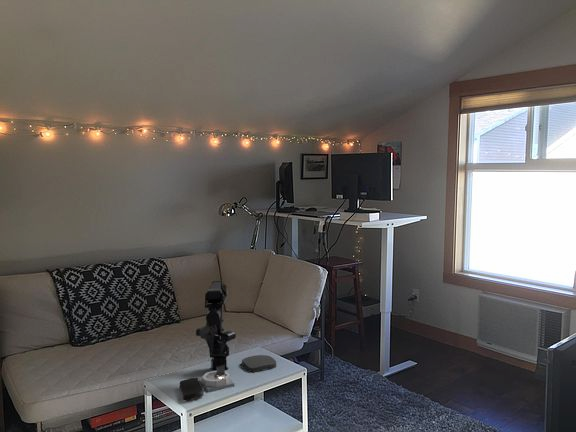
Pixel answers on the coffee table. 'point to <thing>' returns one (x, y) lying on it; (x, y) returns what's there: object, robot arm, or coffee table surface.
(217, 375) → the dial
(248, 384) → the coffee table surface
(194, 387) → the black sponge
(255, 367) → the media streaming box
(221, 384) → the dial panel
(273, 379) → the coffee table surface
